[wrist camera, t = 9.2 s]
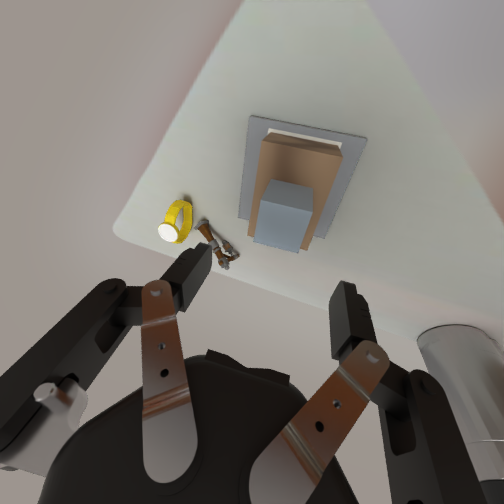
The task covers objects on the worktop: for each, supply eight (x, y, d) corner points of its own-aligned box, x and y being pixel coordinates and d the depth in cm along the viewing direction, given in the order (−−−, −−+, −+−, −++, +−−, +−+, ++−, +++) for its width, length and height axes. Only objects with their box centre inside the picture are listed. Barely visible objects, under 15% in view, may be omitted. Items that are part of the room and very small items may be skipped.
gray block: (313, 188, 20) (312, 212, 16) (300, 225, 22) (298, 253, 18) (271, 178, 20) (260, 199, 16) (263, 215, 22) (253, 241, 19)
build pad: (365, 137, 21) (367, 139, 21) (324, 234, 29) (324, 239, 28) (251, 115, 22) (249, 116, 22) (240, 214, 30) (237, 218, 29)
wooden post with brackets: (237, 264, 35) (220, 274, 31) (212, 223, 35) (192, 228, 31) (245, 259, 34) (228, 268, 30) (218, 217, 34) (199, 221, 30)
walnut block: (338, 145, 21) (343, 157, 18) (308, 228, 28) (307, 250, 24) (270, 131, 22) (261, 140, 18) (256, 215, 28) (247, 235, 24)
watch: (179, 193, 31) (155, 208, 26) (197, 198, 30) (176, 214, 26) (180, 228, 34) (159, 248, 29) (196, 233, 34) (177, 253, 29)
